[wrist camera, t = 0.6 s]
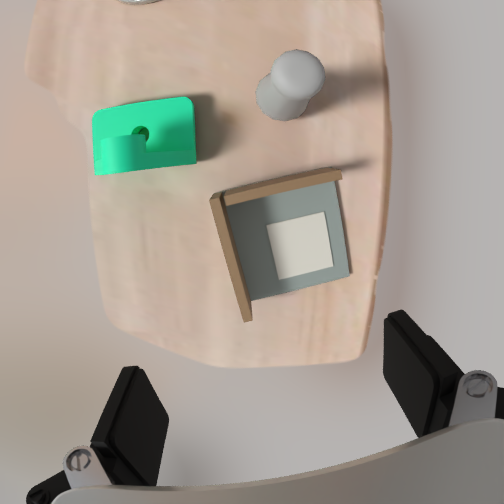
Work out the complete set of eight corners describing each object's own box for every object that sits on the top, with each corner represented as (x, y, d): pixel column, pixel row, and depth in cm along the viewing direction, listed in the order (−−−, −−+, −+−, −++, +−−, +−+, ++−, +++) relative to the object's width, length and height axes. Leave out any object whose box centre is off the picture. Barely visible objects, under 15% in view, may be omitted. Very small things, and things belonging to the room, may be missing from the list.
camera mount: (195, 99, 33) (179, 79, 23) (197, 163, 35) (181, 166, 25) (101, 113, 32) (58, 103, 22) (103, 173, 34) (61, 181, 25)
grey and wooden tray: (213, 193, 36) (209, 200, 30) (329, 166, 35) (345, 168, 30) (243, 300, 40) (243, 322, 35) (348, 274, 39) (363, 292, 34)
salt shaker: (265, 69, 32) (278, 27, 19) (311, 87, 32) (346, 55, 20) (247, 113, 33) (251, 89, 21) (294, 130, 34) (323, 118, 21)
